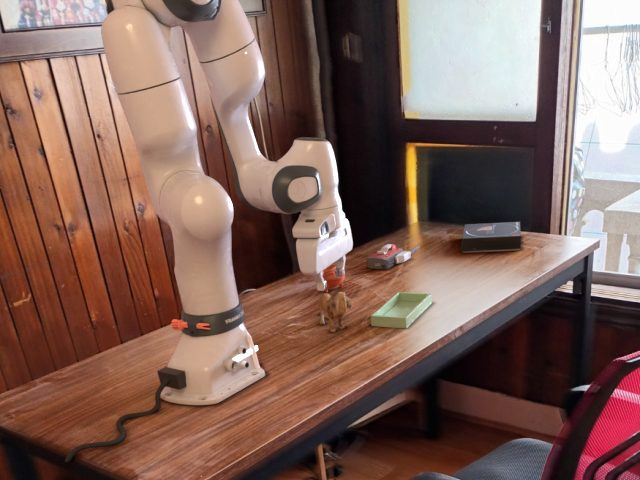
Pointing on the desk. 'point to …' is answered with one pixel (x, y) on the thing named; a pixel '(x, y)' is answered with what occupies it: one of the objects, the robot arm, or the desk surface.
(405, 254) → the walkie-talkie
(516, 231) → the portable cd player
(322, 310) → the lion figurine
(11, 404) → the desk surface
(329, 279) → the pot
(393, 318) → the tray
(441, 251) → the desk surface
